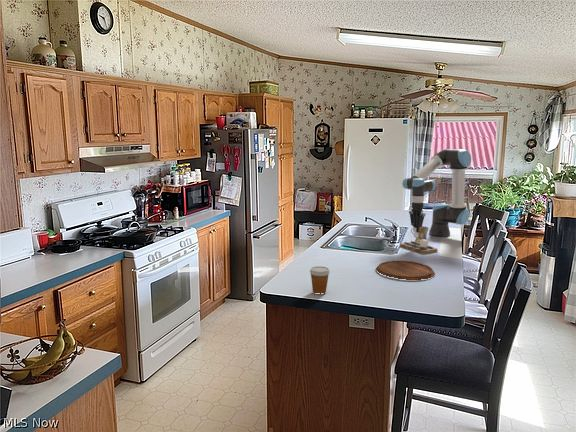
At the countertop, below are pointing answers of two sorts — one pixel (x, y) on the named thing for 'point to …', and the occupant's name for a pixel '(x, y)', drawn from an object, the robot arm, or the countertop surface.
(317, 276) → the beer glass
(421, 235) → the mug
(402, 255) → the countertop surface
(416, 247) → the wooden tray
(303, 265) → the countertop surface
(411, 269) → the cutting board
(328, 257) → the countertop surface
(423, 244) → the fader knob
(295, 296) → the countertop surface
